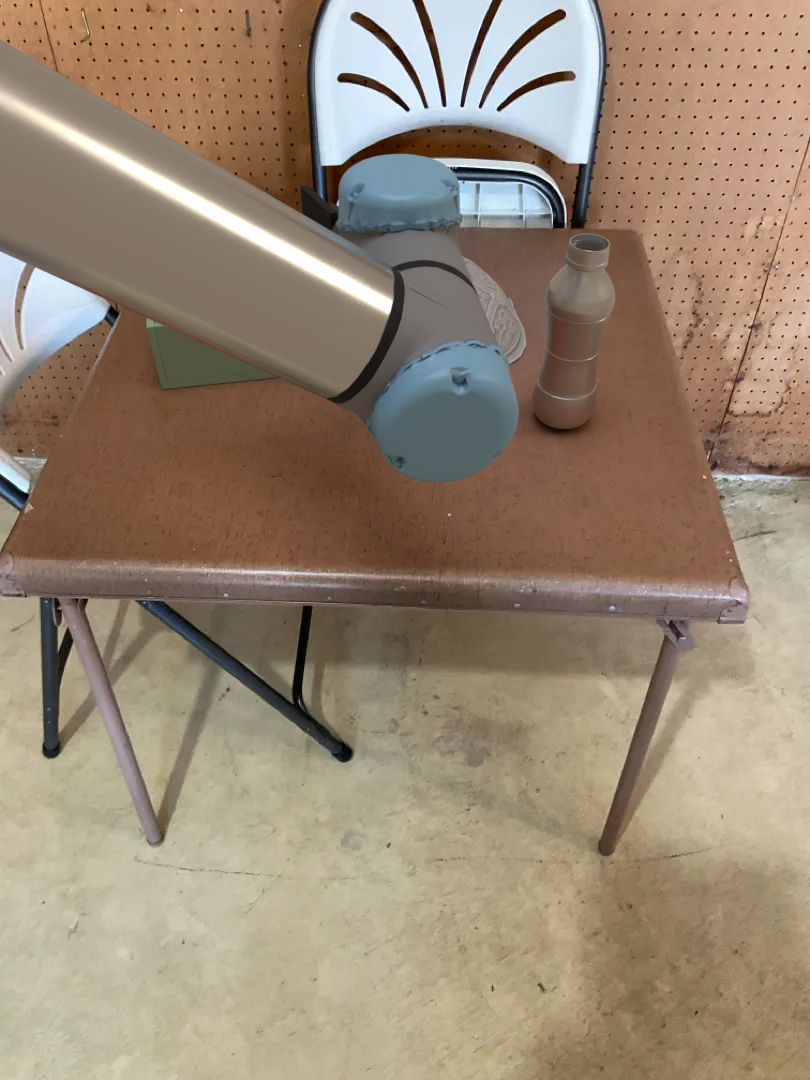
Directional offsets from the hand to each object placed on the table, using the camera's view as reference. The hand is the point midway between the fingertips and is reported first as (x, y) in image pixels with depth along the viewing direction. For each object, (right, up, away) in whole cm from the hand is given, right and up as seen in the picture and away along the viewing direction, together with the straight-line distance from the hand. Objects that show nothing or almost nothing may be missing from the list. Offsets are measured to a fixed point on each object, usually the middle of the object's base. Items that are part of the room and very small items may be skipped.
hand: (239, 214), depth 80 cm
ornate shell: (+22, -3, +25) cm, 33 cm away
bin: (-5, -7, +21) cm, 22 cm away
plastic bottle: (+32, -18, +11) cm, 39 cm away
